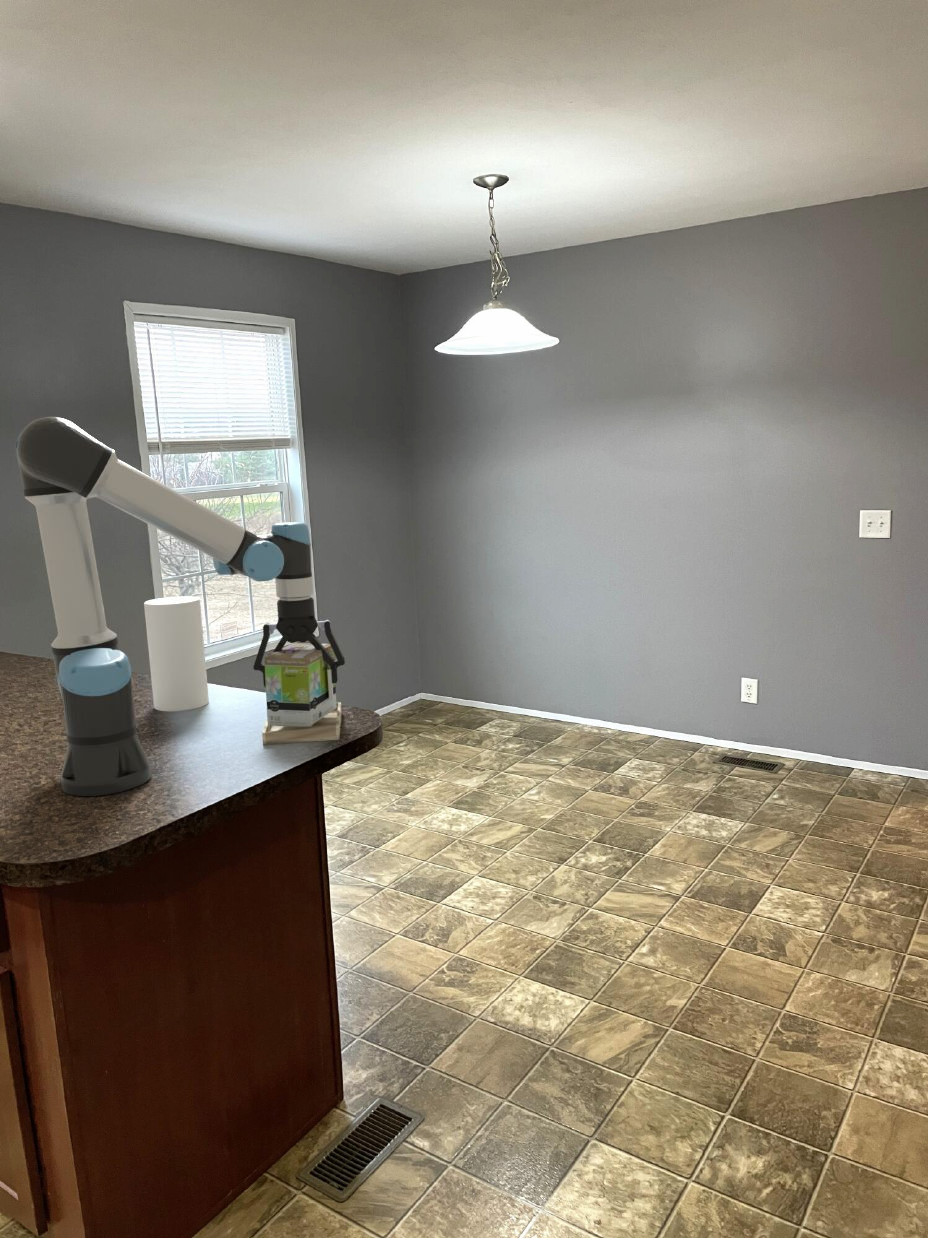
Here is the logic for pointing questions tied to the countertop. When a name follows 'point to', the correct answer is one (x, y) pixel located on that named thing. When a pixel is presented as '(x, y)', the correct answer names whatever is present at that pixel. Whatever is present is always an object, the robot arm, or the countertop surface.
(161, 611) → the cylinder
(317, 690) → the tea box
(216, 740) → the countertop surface
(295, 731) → the tray
